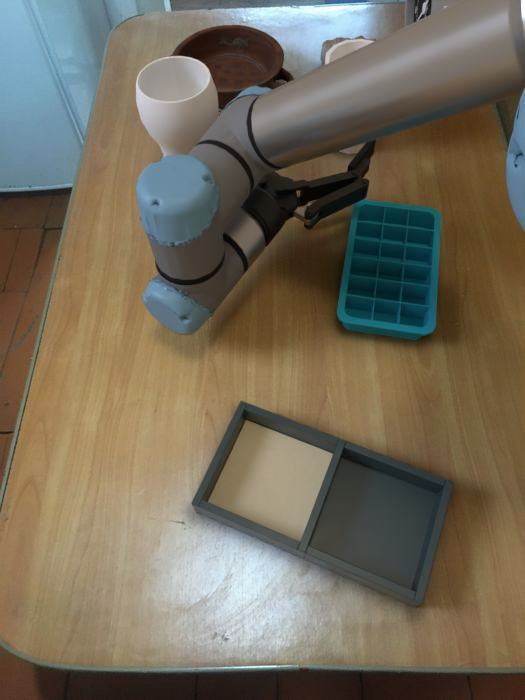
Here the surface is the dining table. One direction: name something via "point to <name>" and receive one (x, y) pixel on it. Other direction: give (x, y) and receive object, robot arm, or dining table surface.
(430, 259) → the ice cube tray
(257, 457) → the divided tray
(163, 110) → the cup
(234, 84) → the dish
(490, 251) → the dining table surface
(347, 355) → the dining table surface
